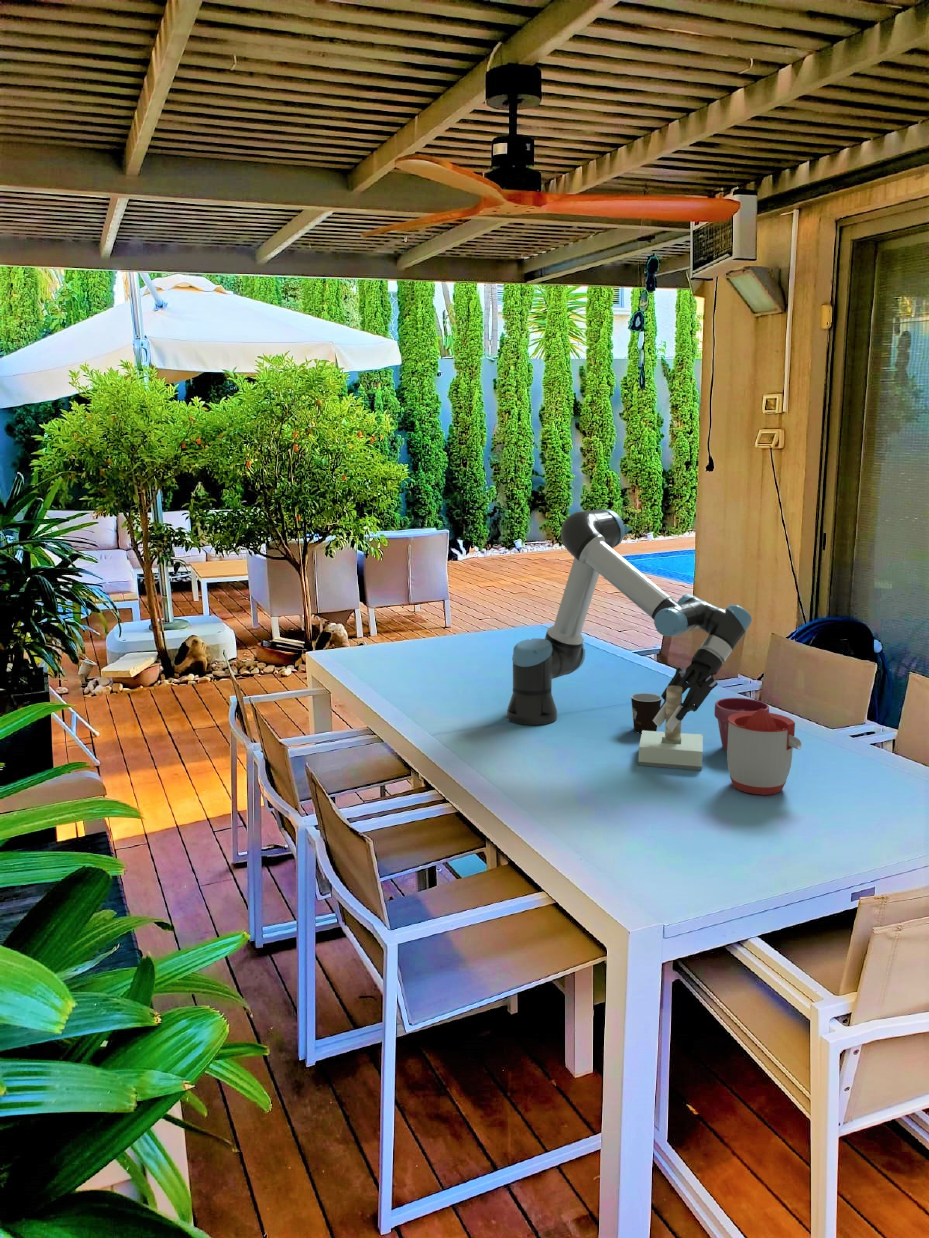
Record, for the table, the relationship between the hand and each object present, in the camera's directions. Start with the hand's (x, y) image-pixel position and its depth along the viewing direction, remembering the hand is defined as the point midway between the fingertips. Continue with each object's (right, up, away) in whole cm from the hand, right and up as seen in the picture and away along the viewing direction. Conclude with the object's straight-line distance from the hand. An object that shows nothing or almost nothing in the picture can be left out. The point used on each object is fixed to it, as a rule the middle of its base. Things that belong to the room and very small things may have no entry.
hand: (662, 725), depth 247 cm
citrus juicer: (+21, -13, -16) cm, 29 cm away
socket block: (+3, -9, +4) cm, 10 cm away
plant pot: (+23, -8, +11) cm, 27 cm away
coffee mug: (+1, -4, +29) cm, 29 cm away
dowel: (+3, -4, +3) cm, 6 cm away
